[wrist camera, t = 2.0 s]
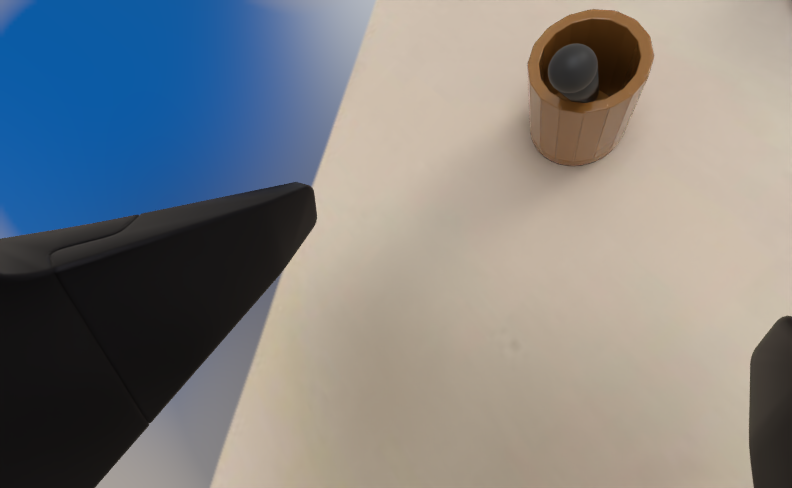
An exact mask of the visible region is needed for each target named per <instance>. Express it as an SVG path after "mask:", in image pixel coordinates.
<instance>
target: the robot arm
mask: <svg viewBox="0 0 792 488" xmlns="http://www.w3.org/2000/svg"><path fill="white" fill-rule="evenodd" d="M316 220H317V212H316V203H315V195H314V190H313V188H312V187H311V186H309V185H305V184H302V183H298V182H294V183H289V184H284V185H279V186H274V187H269V188H264V189H259V190H255V191H250V192H245V193H240V194H235V195H230V196H225V197H221V198H216V199H211V200H206V201H201V202H196V203H192V204H187V205H182V206H177V207H172V208H167V209H163V210H157V211H153V212H148V213H143V214H141V215H140V216H139V215H133V216H128V217H123V218H118V219H113V220H108V221H103V222H97V223H93V224H87V225H81V226H75V227H70V228H64V229H58V230H52V231H46V232H39V233H34V234H28V235H21V236H15V237H9V238H2V239H0V488H95V487H96V486H97V484H98V483H99V482H100V481H101V480H102V479H103V478H104V476H105V475H106V474H107V473H108V472H109V471H110V469H111V468H112V467H113V466H114V465H115V464H116V463H117V462H118V460H119V459H120V458H121V457H122V456H123V455H124V453H125V452H126V451H127V450H128V449H129V448H130V447H131V445H132V444H133V443H134V442H135V441H136V440H137V438H138V437H139V436H140V435H141V434H142V433H143V432H144V430H145V429H146V428H147V427H148V426H149V423H151V422H152V421H153V420H154V418H155V417H156V416H157V415H158V414H159V413H160V412H161V410H162V409H163V408H164V407H165V406H166V405H167V404H168V402H169V401H170V400H171V399H172V398H173V397H174V396H175V394H176V393H177V392H178V391H179V390H180V389H181V388H182V386H183V385H184V384H185V383H186V382H187V381H188V379H189V378H190V377H191V376H192V375H193V374H194V373H195V371H196V370H197V369H198V368H199V367H200V366H201V365H202V363H203V362H204V361H205V360H206V359H207V358H208V356H209V355H210V354H211V353H212V352H213V351H214V350H215V348H216V347H217V346H218V345H219V344H220V343H221V342H222V340H223V339H224V338H225V337H226V336H227V335H228V333H229V332H230V331H231V330H232V329H233V328H234V327H235V326H236V324H237V323H238V322H239V321H240V320H241V319H242V317H243V316H244V315H245V314H246V313H247V312H248V311H249V309H250V308H251V307H252V306H253V305H254V304H255V303H256V301H257V300H258V299H259V298H260V297H261V296H262V295H263V293H264V292H265V291H266V290H267V289H268V288H269V286H270V285H271V284H272V283H273V281H275V280H276V278H277V277H278V276H279V275H280V274H281V272H282V271H283V270H284V268H285V267H286V266H287V264H288V263H289V262H290V260H291V259H292V257H293V256H294V254H295V253H296V252H297V250H298V249H299V247H300V246H301V244H302V243H303V242H304V240H305V239H306V237H307V236H308V234H309V233H310V232H311V230H312V229H313V227H314V226H315V223H316ZM749 449H750V460H751V468H752V476H753V484H754V488H792V316H785V317H782V318H780V319H779V320H778V321H777V322H776V323H775V324H774V325H773V327H772V328H771V329H770V330H769V332H768V333H767V334H766V335H765V337H764V338H763V339H762V341H761V342H760V343H759V344H758V346H757V347H756V348H755V350H754V352H753V354H752V357H751V363H750V408H749Z"/></svg>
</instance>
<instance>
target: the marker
mask: <svg viewBox="0 0 792 488" xmlns="http://www.w3.org/2000/svg"><path fill="white" fill-rule="evenodd" d="M548 77H549V81H550V83H551V84H552V86H553V87H554V88H555V89H556V90H558V91H559V92H560V93H562V94H563V95H564V96H565V97H567V98H568V99H569V100H571V101H573V102H580V103H588V102H593V101H595V100H596V98H597V97H598V94H599V78H598V61H597V57H596V55H595V53H594V51H593V50H592V49H591V48H589V47H588V46H586V45H584V44H579V43H575V44H569V45H567V46H564V47H563V48H561V49H560V50H558V51H557V52H556V53H555V55H554V56H553V57H552V59H551V61H550V63H549V67H548Z"/></svg>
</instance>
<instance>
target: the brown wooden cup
mask: <svg viewBox="0 0 792 488" xmlns="http://www.w3.org/2000/svg"><path fill="white" fill-rule="evenodd" d="M575 43H579V44H584V45H586V46H588V47H589V48H591V49H592V50H593V51H594V53H595V55H596V57H597V61H598V78H599V94H598V97H597V98H596V100H595V101H593V102H588V103H580V102H573V101H571V100H569V99H568V98H567V97H565V96H564V95H563V94H562V93H560V92H559V91H558V90H556V89H555V88H554V87H553V86H552V84H551V83H550V81H549V77H548V67H549V63H550V61H551V59H552V57H553V56H554V55H555V53H556V52H557V51H558V50H560V49H561V48H563V47H564V46H567V45H569V44H575ZM653 59H654V53H653V48H652V43H651V38H650V36H649V34H648V33H647V32H646V31H645V30H644V28H643V27H642V26H641V25H640V24H639V23H638V21H636V20H635V19H633V18H631V17H629V16H626V15H624V14H622V13H620V12H617V11H613V10H597V9H592V10H587V11H583V12H579V13H575V14H571V15H569V16H566V17H565V18H563V19H561V20H560V21H558V22H556V23H555V24H553V25H552V26H550V27H549V28H547V30H546V31H545V32H544V33H543V34H542V36H541V37H540V38H539V39H538V40H537V42H536V43H535V44H534V46H533V49H532V52H531V55H530V58H529V61H528V65H527V66H528V96H529V122H530V133H531V138H532V141H533V143H534V145H535V147H536V148H537V150H538V151H539V152H540V153H541V154H542V155H543V156H545V157H546V158H548V159H549V160H551V161H553V162H556V163H559V164H563V165H570V166H577V165H584V164H589V163H592V162H595V161H597V160H599V159H601V158H603V157H604V156H606V155H607V154H608V153H610V152H611V151H612V150H613V149H614V148H615V147H616V145H617V144H618V143H619V141H620V139H621V137H622V136H623V134H624V132H625V129H626V127H627V125H628V123H629V120H630V118H631V116H632V113H633V111H634V109H635V106H636V104H637V102H638V99H639V97H640V95H641V93H642V90H643V88H644V86H645V83H646V81H647V79H648V76H649V73H650V70H651V66H652V63H653Z"/></svg>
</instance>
